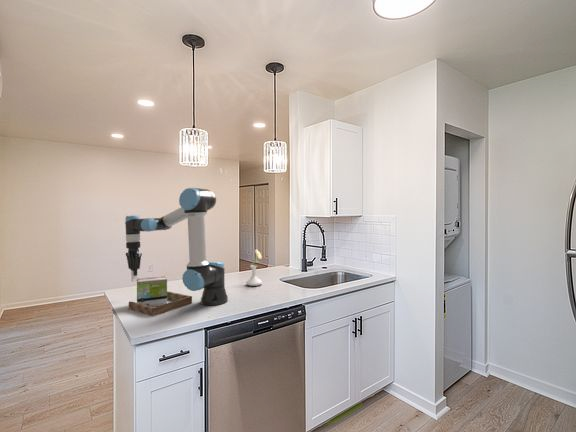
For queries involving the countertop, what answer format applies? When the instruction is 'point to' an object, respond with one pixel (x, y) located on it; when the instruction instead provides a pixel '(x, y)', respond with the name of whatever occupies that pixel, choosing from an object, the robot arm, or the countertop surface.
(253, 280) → the flower in vase
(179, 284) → the countertop surface
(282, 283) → the countertop surface
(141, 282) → the tea box
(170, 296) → the walnut bay
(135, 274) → the robot arm
